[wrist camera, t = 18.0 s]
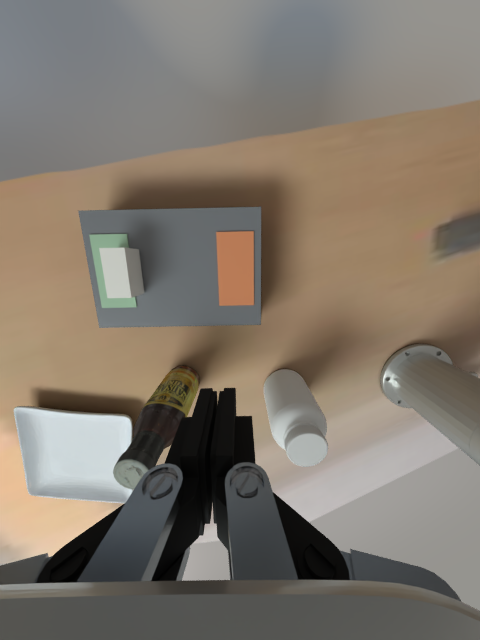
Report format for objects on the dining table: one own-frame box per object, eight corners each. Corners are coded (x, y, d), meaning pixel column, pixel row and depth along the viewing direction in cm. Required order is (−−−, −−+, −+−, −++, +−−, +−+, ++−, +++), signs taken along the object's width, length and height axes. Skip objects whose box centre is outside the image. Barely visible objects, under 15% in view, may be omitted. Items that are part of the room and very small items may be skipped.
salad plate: (139, 490, 50) (132, 506, 46) (40, 481, 49) (26, 497, 46) (139, 405, 45) (131, 417, 41) (28, 395, 44) (11, 406, 41)
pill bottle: (311, 396, 44) (346, 464, 29) (271, 410, 44) (287, 483, 30) (297, 361, 42) (327, 414, 27) (256, 377, 43) (265, 436, 28)
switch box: (257, 215, 36) (261, 206, 30) (257, 315, 40) (260, 325, 34) (104, 219, 36) (77, 210, 30) (120, 317, 40) (98, 328, 34)
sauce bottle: (200, 364, 42) (167, 452, 23) (200, 394, 44) (168, 500, 24) (165, 362, 42) (101, 448, 23) (165, 392, 43) (106, 497, 24)
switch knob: (138, 249, 31) (124, 247, 27) (144, 293, 32) (131, 297, 28) (116, 249, 31) (99, 248, 27) (123, 293, 32) (107, 298, 29)
